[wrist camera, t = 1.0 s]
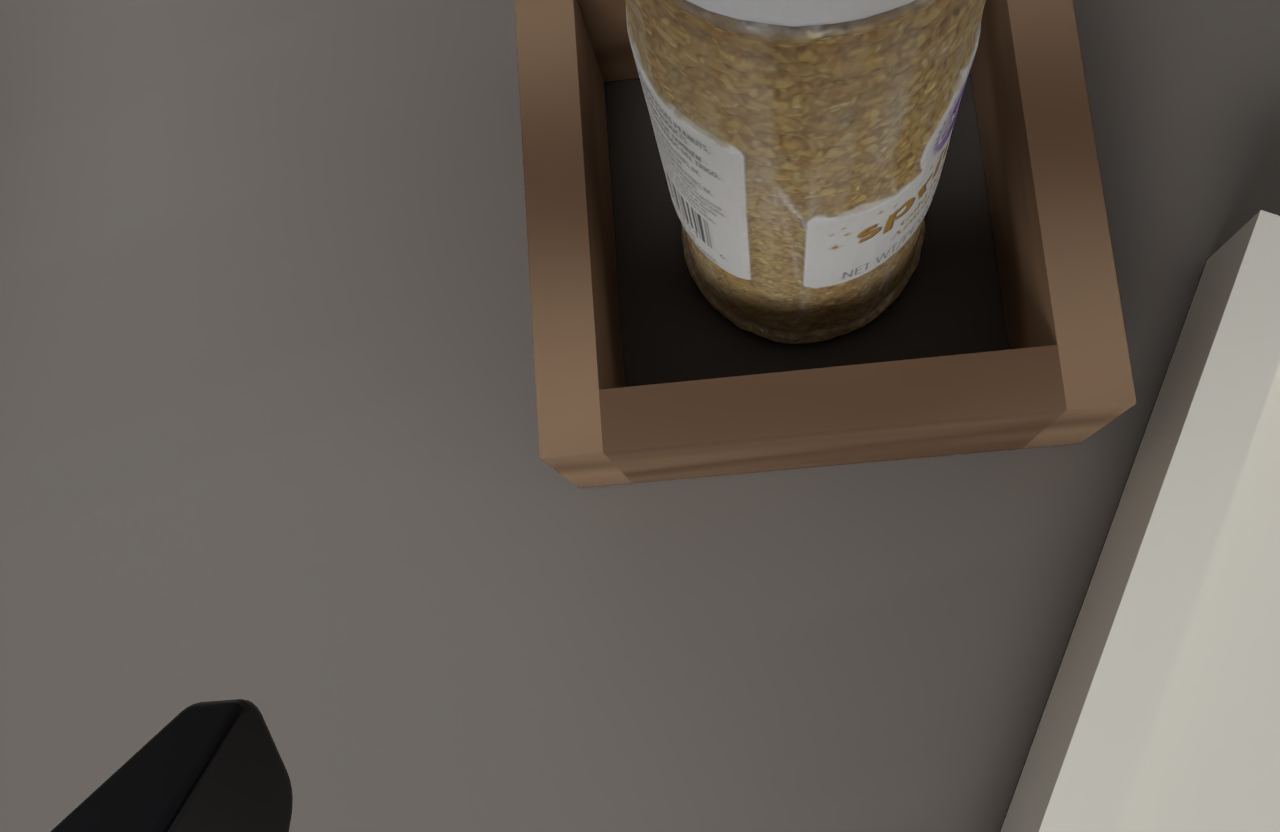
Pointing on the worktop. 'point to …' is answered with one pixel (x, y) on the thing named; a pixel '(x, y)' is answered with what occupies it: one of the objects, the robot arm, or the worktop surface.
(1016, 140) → the walnut holder
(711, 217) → the sprinkles bottle
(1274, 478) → the cream tray
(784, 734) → the worktop surface
